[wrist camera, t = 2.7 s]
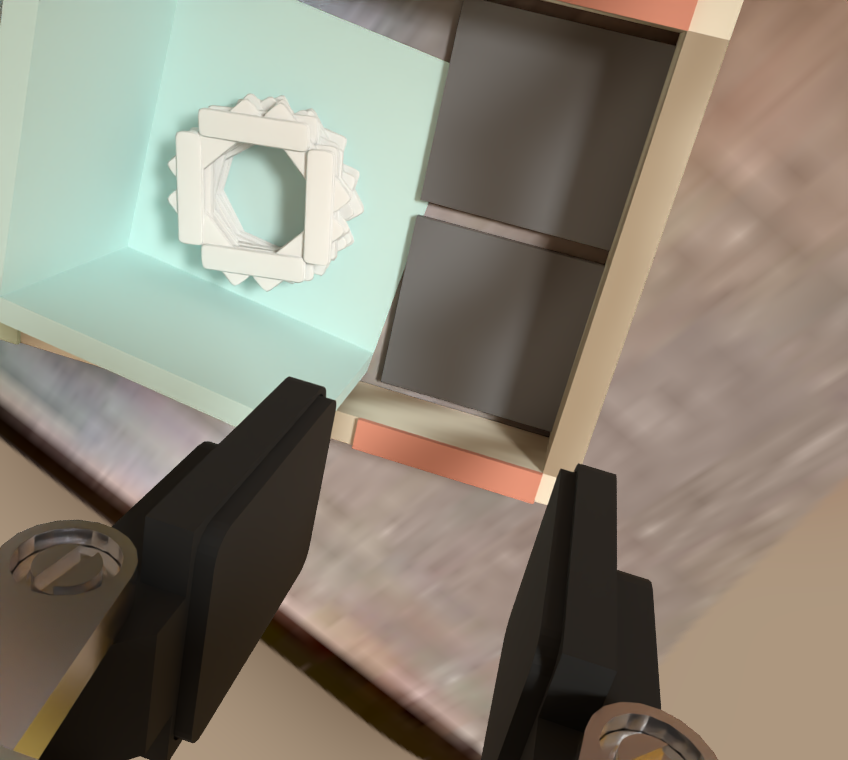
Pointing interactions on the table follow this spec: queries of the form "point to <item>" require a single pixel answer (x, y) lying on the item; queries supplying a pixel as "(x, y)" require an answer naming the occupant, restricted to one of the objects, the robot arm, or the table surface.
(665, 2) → the box
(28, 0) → the l-shaped corner panel
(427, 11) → the table surface
